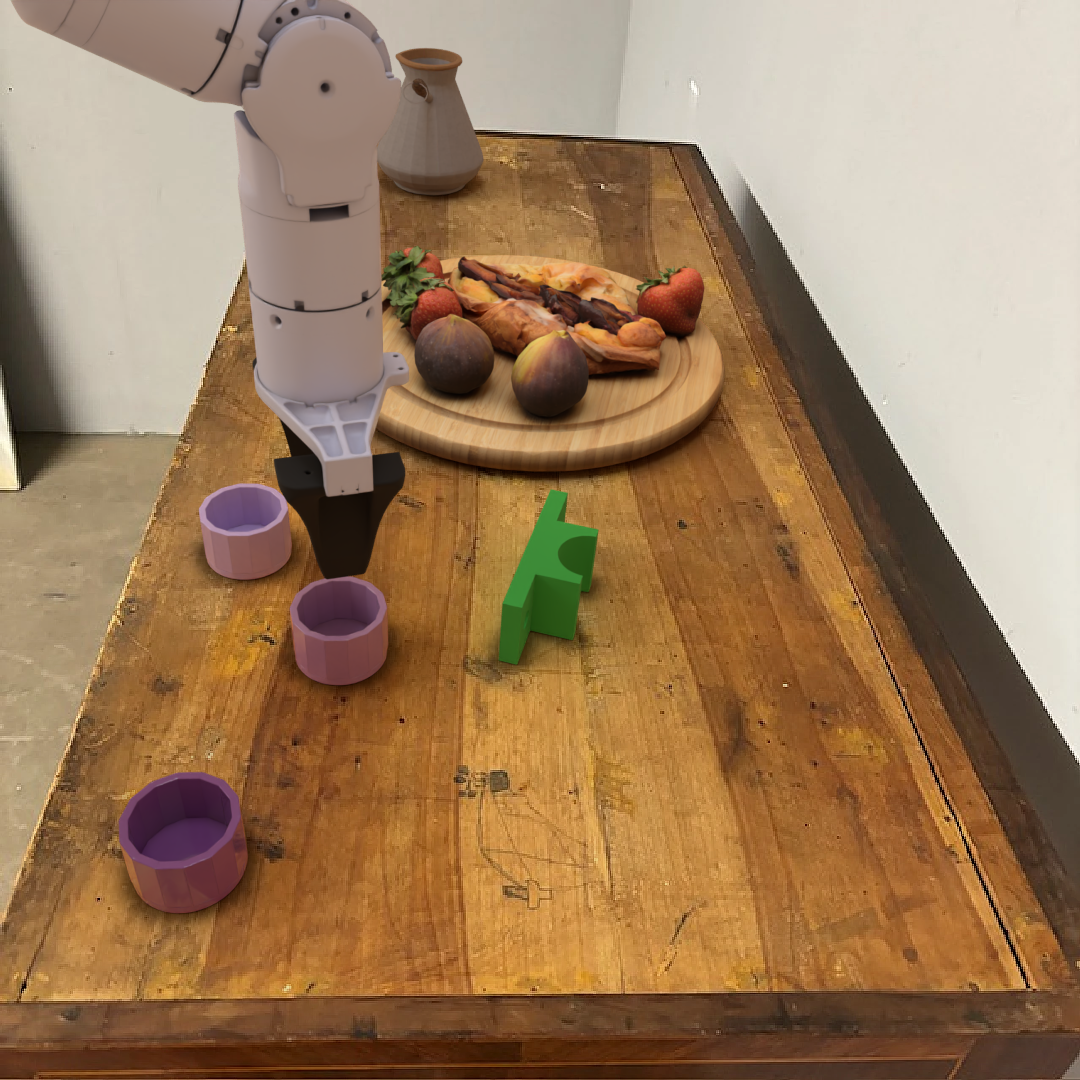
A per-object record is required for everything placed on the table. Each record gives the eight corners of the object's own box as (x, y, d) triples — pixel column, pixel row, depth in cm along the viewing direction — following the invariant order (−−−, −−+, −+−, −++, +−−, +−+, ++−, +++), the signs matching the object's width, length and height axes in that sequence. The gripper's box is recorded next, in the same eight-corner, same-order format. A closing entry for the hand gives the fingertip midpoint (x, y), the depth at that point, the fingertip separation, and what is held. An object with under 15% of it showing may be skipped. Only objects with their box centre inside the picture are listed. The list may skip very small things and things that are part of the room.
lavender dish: (209, 586, 65) (202, 541, 63) (203, 532, 69) (196, 488, 67) (297, 573, 67) (292, 529, 64) (285, 521, 70) (281, 478, 68)
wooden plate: (683, 282, 102) (697, 197, 97) (761, 483, 78) (786, 383, 72) (341, 271, 99) (336, 183, 94) (309, 477, 74) (300, 372, 69)
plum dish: (133, 926, 48) (119, 881, 46) (130, 829, 52) (117, 783, 50) (253, 899, 49) (245, 854, 47) (241, 806, 53) (234, 761, 51)
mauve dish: (302, 693, 59) (297, 648, 57) (289, 627, 63) (284, 583, 61) (395, 677, 61) (395, 632, 58) (377, 613, 64) (376, 569, 62)
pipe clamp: (561, 676, 62) (567, 618, 59) (498, 662, 62) (501, 603, 59) (601, 555, 70) (608, 499, 67) (545, 543, 71) (550, 487, 68)
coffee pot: (383, 158, 121) (380, 14, 112) (485, 166, 122) (491, 23, 112) (355, 237, 105) (349, 76, 95) (474, 246, 105) (479, 86, 96)
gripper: (444, 355, 43) (440, 605, 52) (374, 210, 54) (381, 438, 62) (263, 372, 41) (290, 629, 50) (228, 218, 52) (255, 452, 60)
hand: (331, 524), depth 56 cm, fingers open, 7 cm apart
